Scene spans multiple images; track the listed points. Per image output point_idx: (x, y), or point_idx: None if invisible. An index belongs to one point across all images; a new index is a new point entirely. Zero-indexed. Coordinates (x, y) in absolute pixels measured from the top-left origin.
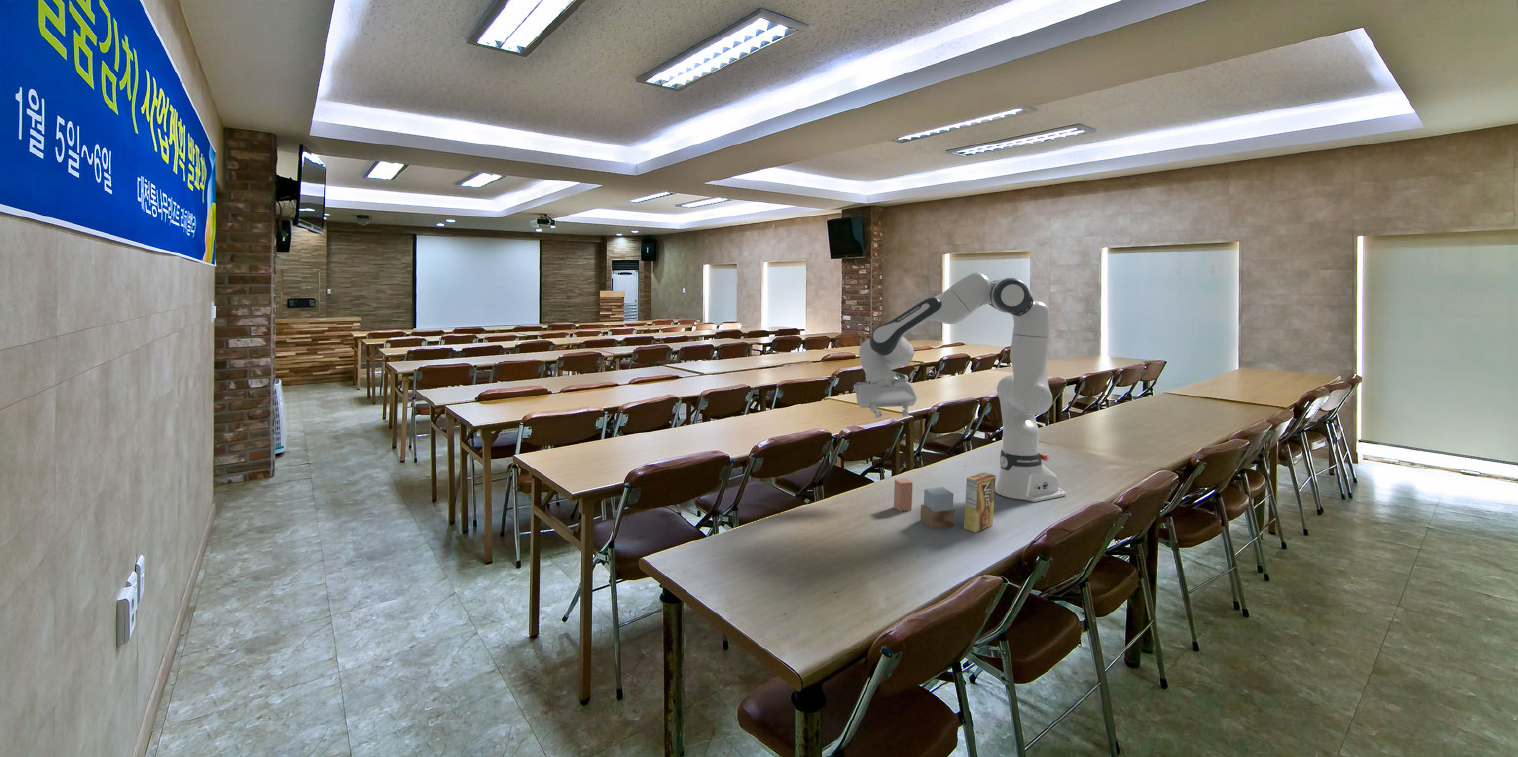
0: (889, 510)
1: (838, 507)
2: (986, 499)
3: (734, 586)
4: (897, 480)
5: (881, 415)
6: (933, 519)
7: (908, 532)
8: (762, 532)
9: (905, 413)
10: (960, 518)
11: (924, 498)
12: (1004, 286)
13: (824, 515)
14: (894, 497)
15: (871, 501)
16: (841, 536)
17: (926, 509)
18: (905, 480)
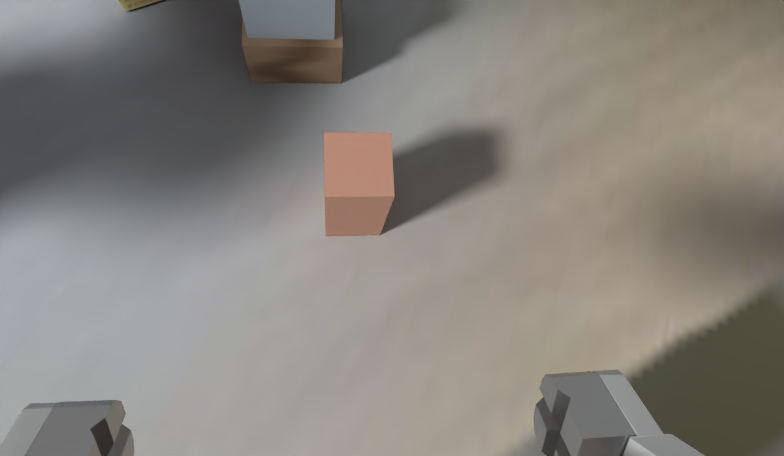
0: (413, 204)
1: (604, 284)
2: None
3: None
4: (387, 178)
5: (552, 376)
6: None
7: (432, 2)
8: None
9: (95, 402)
10: (180, 61)
11: (334, 17)
12: None
13: (672, 212)
14: (384, 221)
15: (447, 325)
16: (649, 30)
17: (341, 11)
18: (345, 168)
